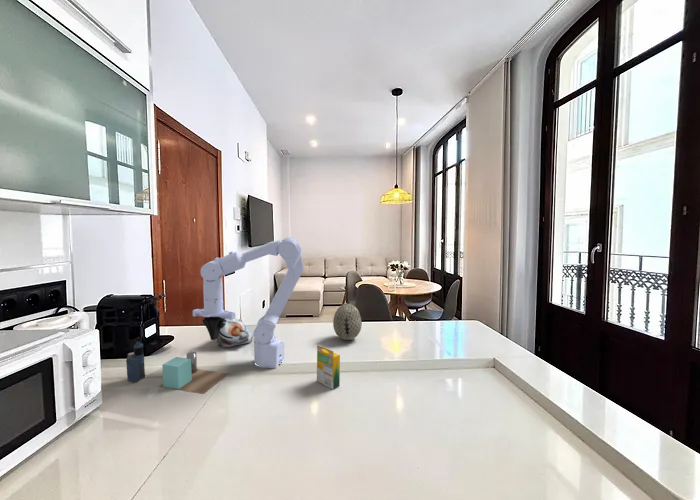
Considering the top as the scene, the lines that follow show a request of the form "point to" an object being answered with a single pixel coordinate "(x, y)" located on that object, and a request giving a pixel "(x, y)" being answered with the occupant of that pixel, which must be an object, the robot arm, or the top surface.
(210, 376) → the board
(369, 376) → the top surface
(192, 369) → the metal post
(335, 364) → the crayon box
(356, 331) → the decorative egg
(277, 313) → the robot arm
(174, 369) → the teal foam cube
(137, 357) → the vaping device
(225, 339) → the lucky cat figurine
